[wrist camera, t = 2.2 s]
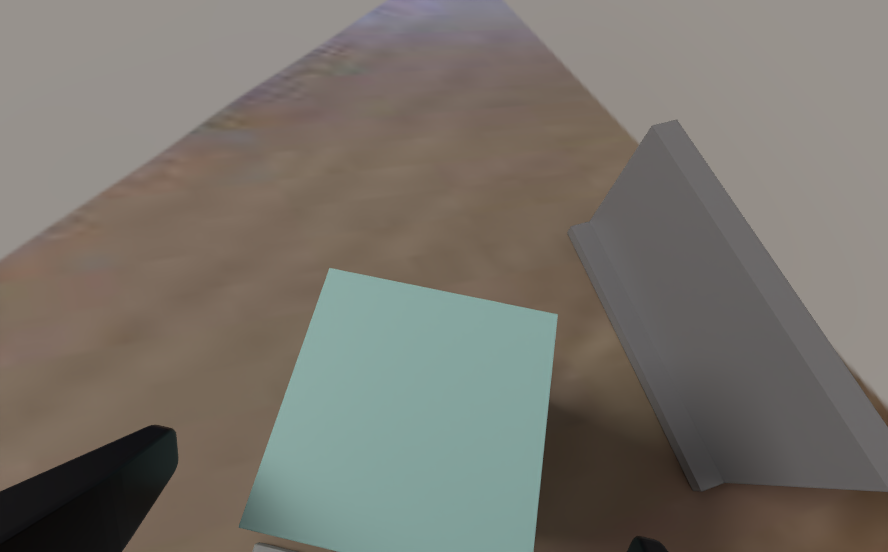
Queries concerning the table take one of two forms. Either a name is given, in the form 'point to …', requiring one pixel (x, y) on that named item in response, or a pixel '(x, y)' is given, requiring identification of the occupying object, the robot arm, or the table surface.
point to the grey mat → (269, 548)
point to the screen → (723, 333)
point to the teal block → (409, 424)
